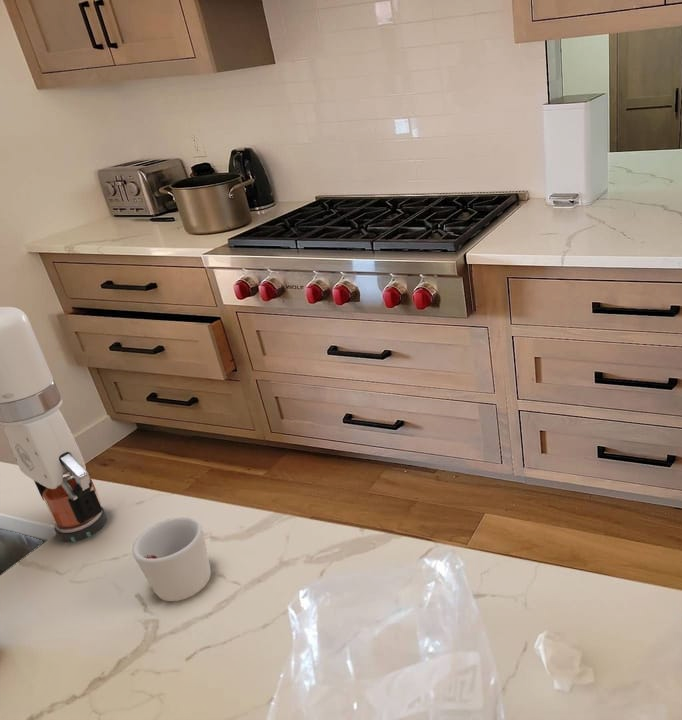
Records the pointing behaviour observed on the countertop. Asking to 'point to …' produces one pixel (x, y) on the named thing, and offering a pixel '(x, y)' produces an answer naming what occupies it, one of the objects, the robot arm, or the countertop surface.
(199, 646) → the countertop surface
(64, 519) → the terracotta plant pot
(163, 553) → the cup
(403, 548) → the countertop surface
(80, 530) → the scale
